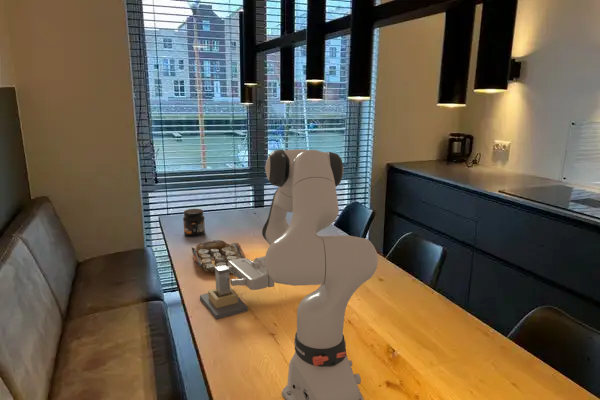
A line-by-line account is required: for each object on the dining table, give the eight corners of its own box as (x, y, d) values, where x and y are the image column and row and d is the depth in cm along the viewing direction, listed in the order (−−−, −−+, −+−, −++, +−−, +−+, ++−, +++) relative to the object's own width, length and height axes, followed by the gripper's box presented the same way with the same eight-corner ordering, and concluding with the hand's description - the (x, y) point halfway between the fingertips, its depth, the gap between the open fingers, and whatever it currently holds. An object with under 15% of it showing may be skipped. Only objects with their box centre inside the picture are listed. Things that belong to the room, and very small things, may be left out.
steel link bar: (230, 301, 147) (229, 268, 144) (220, 304, 145) (218, 271, 142) (226, 297, 150) (225, 264, 147) (216, 299, 148) (214, 267, 145)
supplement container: (180, 233, 220) (178, 210, 217) (198, 229, 227) (197, 207, 224) (190, 238, 212) (189, 215, 210) (209, 234, 219) (208, 211, 216)
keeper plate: (247, 310, 144) (247, 298, 143) (216, 319, 138) (215, 306, 137) (229, 291, 157) (229, 280, 156) (199, 299, 152) (199, 287, 151)
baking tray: (254, 272, 175) (254, 259, 174) (200, 281, 167) (199, 268, 165) (234, 248, 202) (233, 237, 200) (186, 254, 193) (186, 243, 192)
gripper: (249, 251, 161) (214, 258, 154) (276, 271, 144) (237, 280, 137) (250, 267, 163) (215, 275, 156) (276, 288, 146) (237, 298, 139)
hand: (225, 277), depth 146 cm, fingers open, 8 cm apart
